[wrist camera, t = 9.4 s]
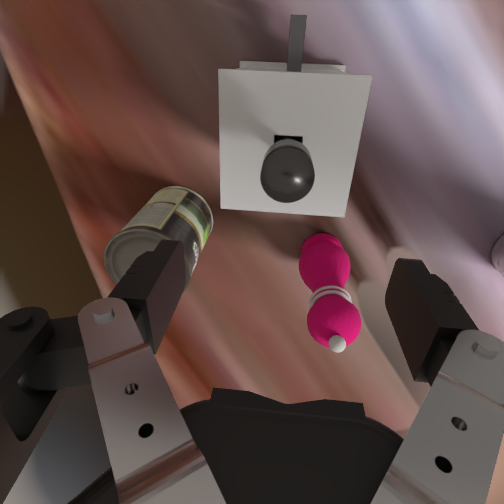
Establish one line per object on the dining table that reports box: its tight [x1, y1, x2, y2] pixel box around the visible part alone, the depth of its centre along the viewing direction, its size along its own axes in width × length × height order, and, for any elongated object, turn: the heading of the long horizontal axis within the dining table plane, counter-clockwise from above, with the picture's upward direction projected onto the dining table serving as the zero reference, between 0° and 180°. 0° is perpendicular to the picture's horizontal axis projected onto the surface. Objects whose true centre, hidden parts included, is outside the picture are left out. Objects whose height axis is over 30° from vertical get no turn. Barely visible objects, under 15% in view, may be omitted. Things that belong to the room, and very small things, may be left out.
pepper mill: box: [299, 233, 361, 352], centre depth 42 cm, size 7×7×20 cm
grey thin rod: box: [260, 135, 315, 203], centre depth 31 cm, size 9×9×22 cm
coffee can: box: [104, 186, 213, 292], centre depth 44 cm, size 10×10×14 cm
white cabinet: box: [218, 15, 373, 217], centre depth 34 cm, size 12×16×16 cm
